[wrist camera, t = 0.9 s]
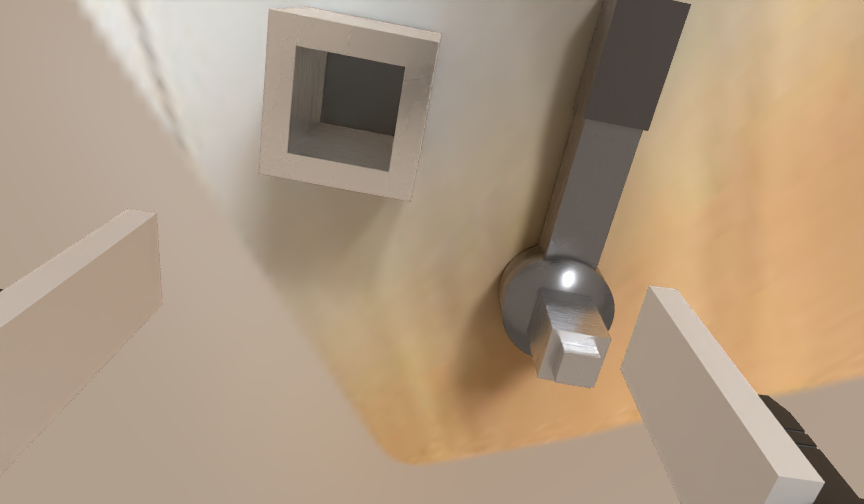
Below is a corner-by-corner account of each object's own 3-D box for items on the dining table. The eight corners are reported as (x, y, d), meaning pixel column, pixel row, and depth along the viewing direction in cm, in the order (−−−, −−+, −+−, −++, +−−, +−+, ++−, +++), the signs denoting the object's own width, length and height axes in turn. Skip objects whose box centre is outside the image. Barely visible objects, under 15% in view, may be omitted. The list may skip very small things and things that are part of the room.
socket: (308, 7, 29) (268, 8, 23) (441, 33, 30) (438, 42, 23) (297, 139, 32) (259, 173, 26) (418, 162, 33) (410, 201, 26)
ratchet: (577, -16, 29) (624, -22, 21) (699, 9, 29) (791, 12, 21) (488, 324, 37) (498, 411, 29) (584, 341, 37) (620, 431, 29)
